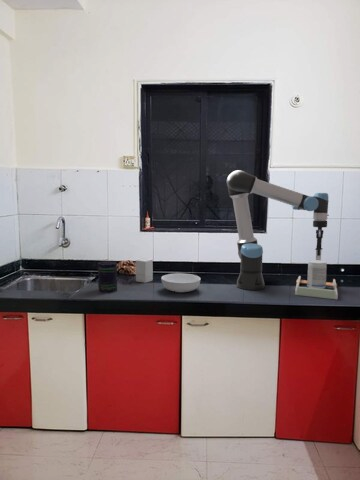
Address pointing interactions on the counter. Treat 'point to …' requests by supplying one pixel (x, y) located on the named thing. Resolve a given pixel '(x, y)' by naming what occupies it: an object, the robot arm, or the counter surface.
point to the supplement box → (144, 270)
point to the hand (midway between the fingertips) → (318, 260)
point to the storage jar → (107, 276)
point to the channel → (316, 291)
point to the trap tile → (307, 281)
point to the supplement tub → (317, 274)
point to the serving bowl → (180, 282)
